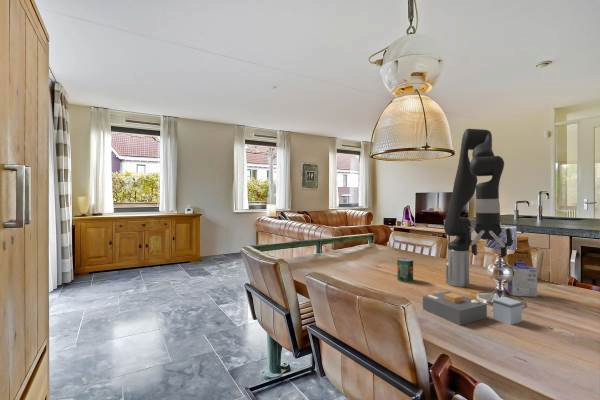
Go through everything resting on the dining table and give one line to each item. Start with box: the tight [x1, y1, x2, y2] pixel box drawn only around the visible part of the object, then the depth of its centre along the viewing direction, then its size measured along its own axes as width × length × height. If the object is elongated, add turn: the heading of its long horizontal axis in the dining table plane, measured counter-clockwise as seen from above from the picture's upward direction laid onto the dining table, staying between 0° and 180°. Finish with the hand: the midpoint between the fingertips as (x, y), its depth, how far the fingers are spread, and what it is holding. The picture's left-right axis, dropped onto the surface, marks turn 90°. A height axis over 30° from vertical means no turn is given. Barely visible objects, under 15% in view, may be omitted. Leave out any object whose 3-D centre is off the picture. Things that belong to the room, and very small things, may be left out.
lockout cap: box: [492, 296, 523, 326], centre depth 105 cm, size 6×6×7 cm
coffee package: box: [504, 236, 534, 267], centre depth 157 cm, size 10×12×22 cm
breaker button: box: [444, 292, 463, 303], centre depth 111 cm, size 4×4×5 cm
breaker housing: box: [422, 291, 488, 326], centre depth 111 cm, size 16×14×6 cm
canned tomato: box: [396, 257, 414, 283], centre depth 155 cm, size 8×8×11 cm
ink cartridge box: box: [507, 261, 538, 297], centre depth 131 cm, size 10×6×14 cm, turn 78°
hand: (488, 256), depth 108 cm, fingers open, 8 cm apart
